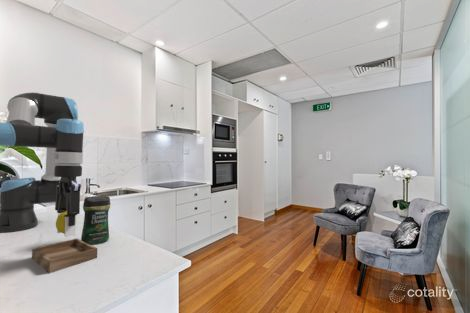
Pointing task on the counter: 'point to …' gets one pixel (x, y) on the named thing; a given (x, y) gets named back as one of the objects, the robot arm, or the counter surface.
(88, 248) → the walnut tray
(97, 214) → the coffee jar
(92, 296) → the counter surface
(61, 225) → the lemon
